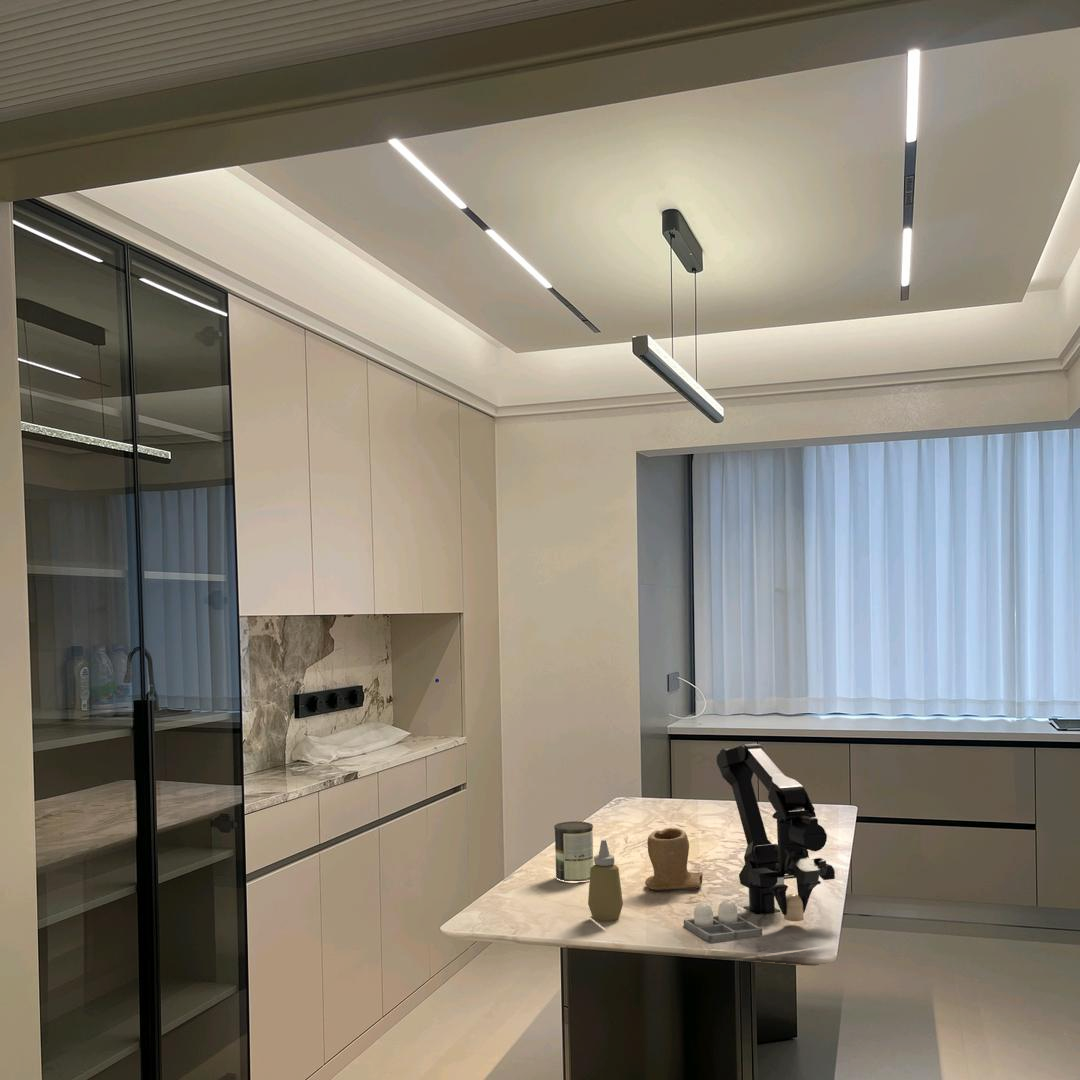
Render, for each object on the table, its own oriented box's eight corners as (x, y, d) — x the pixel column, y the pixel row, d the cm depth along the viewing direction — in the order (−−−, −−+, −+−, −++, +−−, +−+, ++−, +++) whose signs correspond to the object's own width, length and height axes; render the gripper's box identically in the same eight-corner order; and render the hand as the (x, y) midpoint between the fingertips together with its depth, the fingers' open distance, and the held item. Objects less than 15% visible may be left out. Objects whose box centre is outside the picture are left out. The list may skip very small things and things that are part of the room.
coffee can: (548, 880, 282) (546, 826, 283) (569, 872, 290) (568, 819, 291) (580, 885, 276) (579, 830, 277) (601, 877, 285) (600, 823, 285)
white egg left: (715, 923, 239) (714, 899, 239) (732, 921, 240) (731, 897, 240) (724, 928, 235) (723, 904, 235) (741, 926, 236) (740, 902, 236)
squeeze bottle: (607, 912, 251) (605, 835, 252) (630, 920, 245) (628, 840, 246) (581, 919, 246) (579, 840, 247) (604, 927, 240) (602, 846, 241)
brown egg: (780, 917, 237) (779, 892, 237) (797, 915, 238) (796, 890, 239) (790, 922, 233) (789, 897, 233) (807, 920, 234) (806, 895, 235)
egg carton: (683, 928, 238) (683, 919, 238) (734, 921, 241) (734, 913, 242) (709, 944, 226) (709, 935, 226) (762, 937, 229) (762, 929, 230)
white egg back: (691, 926, 237) (690, 902, 237) (708, 924, 238) (707, 900, 238) (699, 932, 233) (698, 907, 233) (716, 929, 234) (715, 905, 234)
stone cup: (647, 896, 265) (645, 834, 266) (644, 883, 277) (642, 825, 278) (708, 895, 264) (706, 833, 265) (702, 882, 276) (700, 824, 277)
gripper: (772, 853, 226) (775, 928, 225) (847, 845, 232) (851, 918, 231) (746, 843, 237) (749, 914, 236) (819, 835, 242) (822, 905, 241)
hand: (793, 913), depth 236 cm, fingers closed on brown egg, 4 cm apart
